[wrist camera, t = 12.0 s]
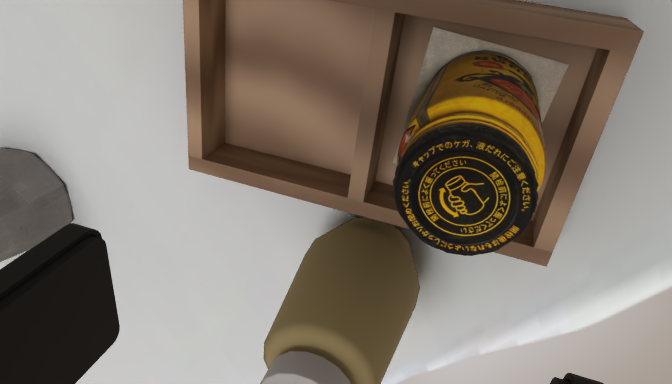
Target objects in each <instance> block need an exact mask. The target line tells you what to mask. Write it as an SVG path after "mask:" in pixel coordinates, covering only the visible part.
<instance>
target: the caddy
mask: <svg viewBox="0 0 672 384" xmlns="http://www.w3.org/2000/svg"><path fill="white" fill-rule="evenodd" d="M183 15H184V43H185V71H186V99H187V127H188V155H189V169H191V170H194V171H198V172H202V173H205V174H209V175H213V176H216V177H220V178H224V179H227V180H231V181H235V182H238V183H242V184H246V185H249V186H253V187H257V188H260V189H264V190H268V191H271V192H275V193H279V194H282V195H286V196H290V197H293V198H297V199H301V200H304V201H308V202H312V203H315V204H319V205H323V206H326V207H330V208H334V209H337V210H341V211H345V212H348V213H352V214H356V215H359V216H363V217H367V218H370V219H374V220H378V221H382V222H385V223H389V224H393V225H396V226H400V227H404V228H407V229H410V228H409V227H408V226H407V224H406V223H405V221H404V220H403V219H402V217H401V216H400V214H399V213H398V211H397V208H396V205H395V200H394V197H393V194H392V193H393V190H394V186H393V179H394V177H395V171H396V167H397V164H395V163H393V161H394V157H395V154H396V150H397V147H398V144H399V141H400V138H401V134H402V131H403V127H404V124H405V121H406V117H407V114H408V110H409V107H410V104H411V100H412V98H413V94H414V91H415V88H416V84H417V81H418V78H419V74H420V71H421V68H422V64H423V61H424V58H425V54H426V51H427V47H428V44H429V41H430V37H431V34H432V31H433V27H435V28H439V29H442V30H446V31H449V32H453V33H457V34H460V35H465V36H468V37H472V38H476V39H479V40H483V41H486V42H490V43H494V44H498V45H501V46H505V47H509V48H512V49H516V50H519V51H523V52H526V53H530V54H533V55H536V56H540V57H544V58H547V59H551V60H554V61H558V62H561V63H565V64H568V65H569V66H568V68H567V70H566V72H565V74H564V76H563V78H562V81H561V83H560V85H559V87H558V90H557V92H556V94H555V96H554V98H553V100H552V103H551V105H550V107H549V109H548V111H547V114H546V116H545V118H544V120H543V122H542V132H543V139H544V144H545V152H546V154H545V174H544V177H543V182H542V185H541V187H540V189H539V191H538V200H537V207H536V209H535V212H534V213H533V214H532V218H531V220H530V221H529V225H527V227H526V228H525V230H524V231H523V232H522V234H521V235H520V236H519V237H517V238H515V239H514V240H512V241H511V242H510V243H508V244H506V245H505V246H503V247H502V248H500V249H499V250H497V251H494V252H495V253H499V254H503V255H506V256H510V257H514V258H517V259H521V260H525V261H528V262H532V263H536V264H539V265H543V266H547V264H548V262H549V259H550V257H551V255H552V252H553V250H554V247H555V245H556V243H557V240H558V238H559V235H560V233H561V230H562V228H563V226H564V223H565V221H566V218H567V216H568V213H569V211H570V209H571V206H572V204H573V201H574V199H575V197H576V194H577V192H578V189H579V187H580V184H581V182H582V180H583V177H584V175H585V172H586V170H587V168H588V165H589V163H590V160H591V158H592V155H593V153H594V151H595V148H596V146H597V143H598V141H599V139H600V136H601V134H602V131H603V129H604V126H605V124H606V122H607V119H608V117H609V114H610V112H611V110H612V107H613V105H614V102H615V100H616V97H617V95H618V93H619V90H620V88H621V85H622V83H623V80H624V78H625V76H626V73H627V71H628V68H629V66H630V64H631V61H632V59H633V56H634V54H635V51H636V49H637V47H638V44H639V42H640V39H641V37H642V35H643V32H644V31H642V30H641V29H640V28H638V27H637V26H636V25H635V24H633V23H632V22H631V21H629V20H628V19H627V18H621V17H615V16H609V15H603V14H597V13H591V12H585V11H578V10H572V9H566V8H560V7H554V6H548V5H541V4H535V3H529V2H523V1H517V0H183Z"/></svg>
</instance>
